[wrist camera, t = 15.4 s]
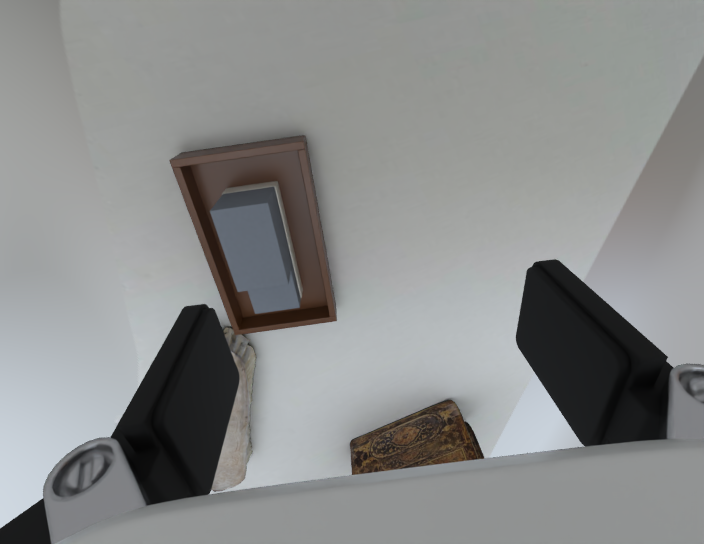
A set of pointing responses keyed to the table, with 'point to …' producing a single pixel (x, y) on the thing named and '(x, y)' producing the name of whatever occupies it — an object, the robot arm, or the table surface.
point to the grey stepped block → (259, 245)
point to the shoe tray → (301, 213)
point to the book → (417, 442)
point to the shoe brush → (237, 418)
